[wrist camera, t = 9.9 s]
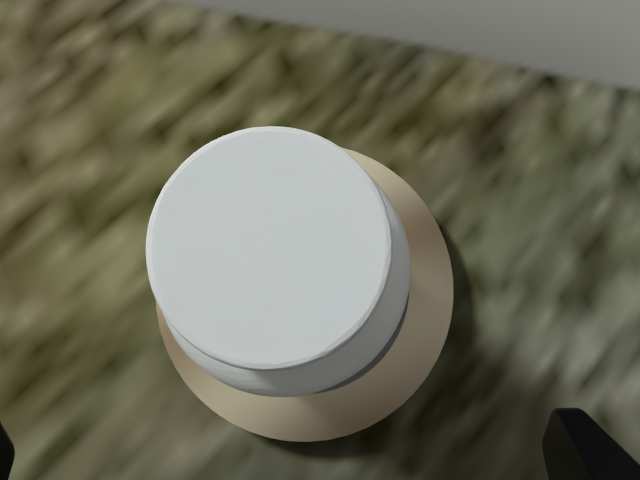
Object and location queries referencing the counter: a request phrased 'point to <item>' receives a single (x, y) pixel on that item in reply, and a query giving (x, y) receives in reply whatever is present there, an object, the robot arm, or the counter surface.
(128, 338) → the counter surface
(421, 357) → the round plate
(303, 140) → the supplement bottle
